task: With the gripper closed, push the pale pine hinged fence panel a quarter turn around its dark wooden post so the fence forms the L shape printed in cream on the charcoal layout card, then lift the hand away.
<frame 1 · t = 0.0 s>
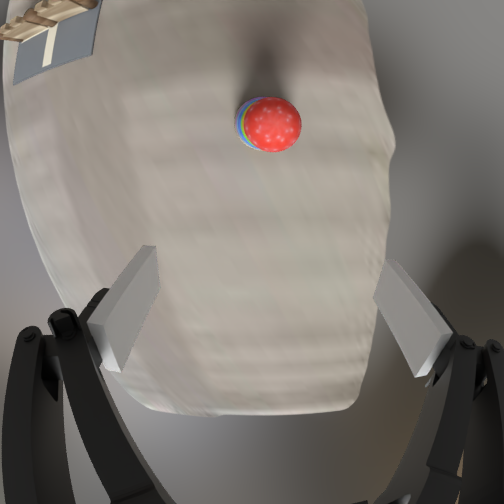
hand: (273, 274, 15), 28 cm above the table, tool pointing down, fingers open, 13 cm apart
fixed fence section: (55, 22, 24), resting on layout card
stacking toy: (262, 123, 36), on the table
layout card: (53, 34, 26), on the table
hinged fence panel: (64, 5, 20), point 5 cm above the table, hinge at 0.0°
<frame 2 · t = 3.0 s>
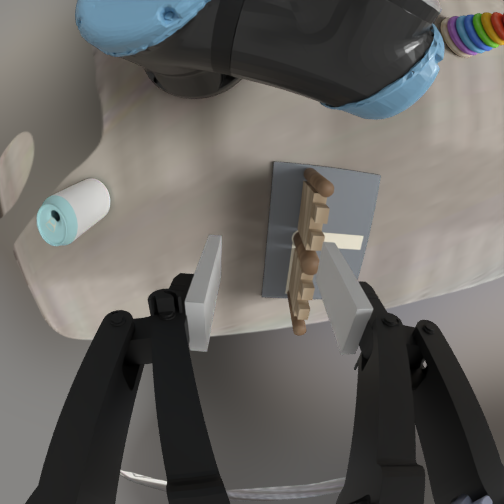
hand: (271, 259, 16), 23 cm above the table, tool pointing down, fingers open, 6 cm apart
fixed fence section: (300, 237, 41), resting on layout card
stacking toy: (454, 38, 24), on the table
layout card: (319, 238, 41), on the table
hinged fence panel: (313, 209, 33), point 5 cm above the table, hinge at 0.0°
can: (95, 198, 38), on the table
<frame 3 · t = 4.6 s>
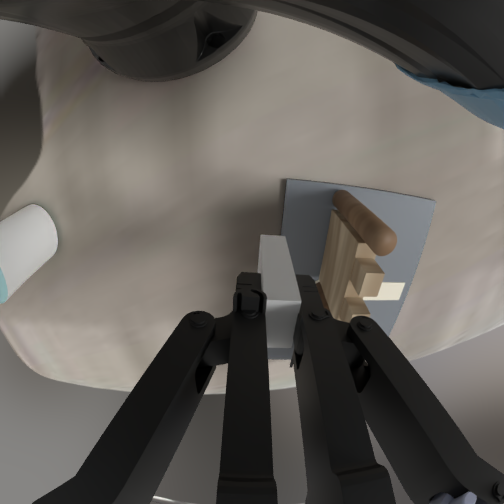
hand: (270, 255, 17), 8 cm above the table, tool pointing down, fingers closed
layout card: (347, 288, 28), on the table
hinged fence panel: (349, 260, 20), point 5 cm above the table, hinge at 0.0°
can: (41, 229, 25), on the table
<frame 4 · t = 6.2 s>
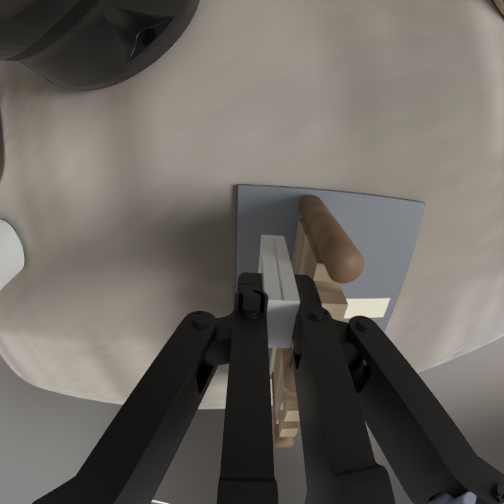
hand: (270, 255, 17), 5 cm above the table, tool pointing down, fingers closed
fixed fence section: (290, 305, 25), resting on layout card
stacking toy: (503, 3, 7), on the table
layout card: (321, 305, 25), on the table
hinged fence panel: (313, 281, 17), point 5 cm above the table, hinge at -2.8°, touching gripper
can: (11, 243, 23), on the table
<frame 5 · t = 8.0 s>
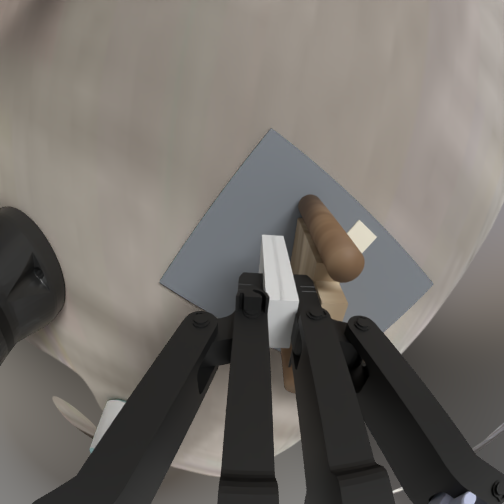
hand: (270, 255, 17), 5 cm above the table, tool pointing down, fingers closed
fixed fence section: (289, 305, 25), resting on layout card
layout card: (311, 284, 24), on the table
hinged fence panel: (313, 280, 17), point 5 cm above the table, hinge at -57.8°, touching gripper
can: (127, 407, 36), on the table
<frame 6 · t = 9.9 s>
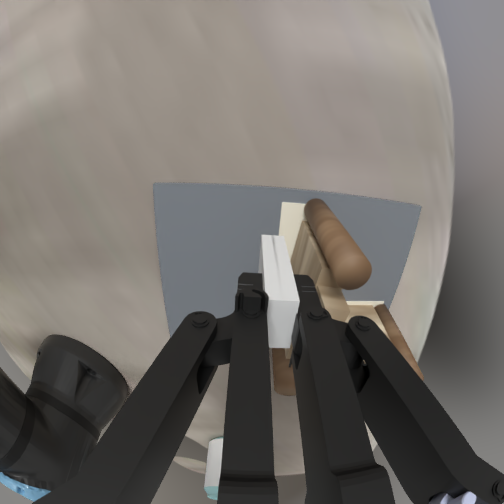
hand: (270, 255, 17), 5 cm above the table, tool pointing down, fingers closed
fixed fence section: (282, 307, 25), resting on layout card
layout card: (286, 280, 23), on the table
hinged fence panel: (312, 284, 17), point 5 cm above the table, hinge at -97.8°, touching gripper
can: (228, 441, 40), on the table
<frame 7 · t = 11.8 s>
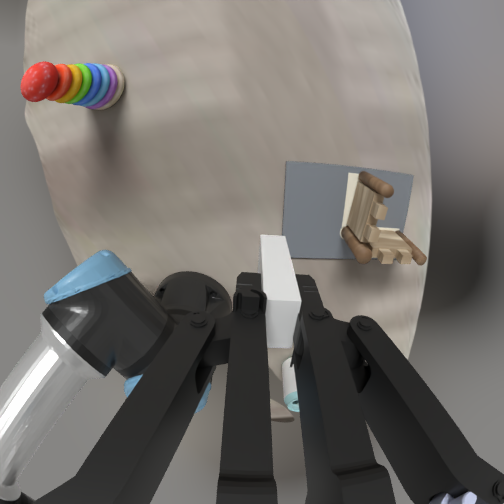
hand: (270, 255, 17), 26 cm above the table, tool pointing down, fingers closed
fixed fence section: (346, 231, 44), resting on layout card
stacking toy: (106, 87, 33), on the table
layout card: (349, 214, 42), on the table
hinged fence panel: (368, 206, 36), point 5 cm above the table, hinge at -97.6°
can: (296, 362, 59), on the table
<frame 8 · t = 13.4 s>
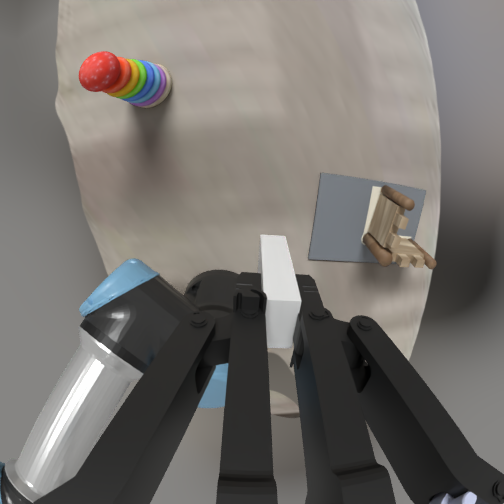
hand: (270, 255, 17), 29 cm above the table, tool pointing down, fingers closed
fixed fence section: (367, 237, 48), resting on layout card
stacking toy: (151, 86, 36), on the table
layout card: (370, 222, 47), on the table
hinged fence panel: (389, 217, 41), point 5 cm above the table, hinge at -97.6°
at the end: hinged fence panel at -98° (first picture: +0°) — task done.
